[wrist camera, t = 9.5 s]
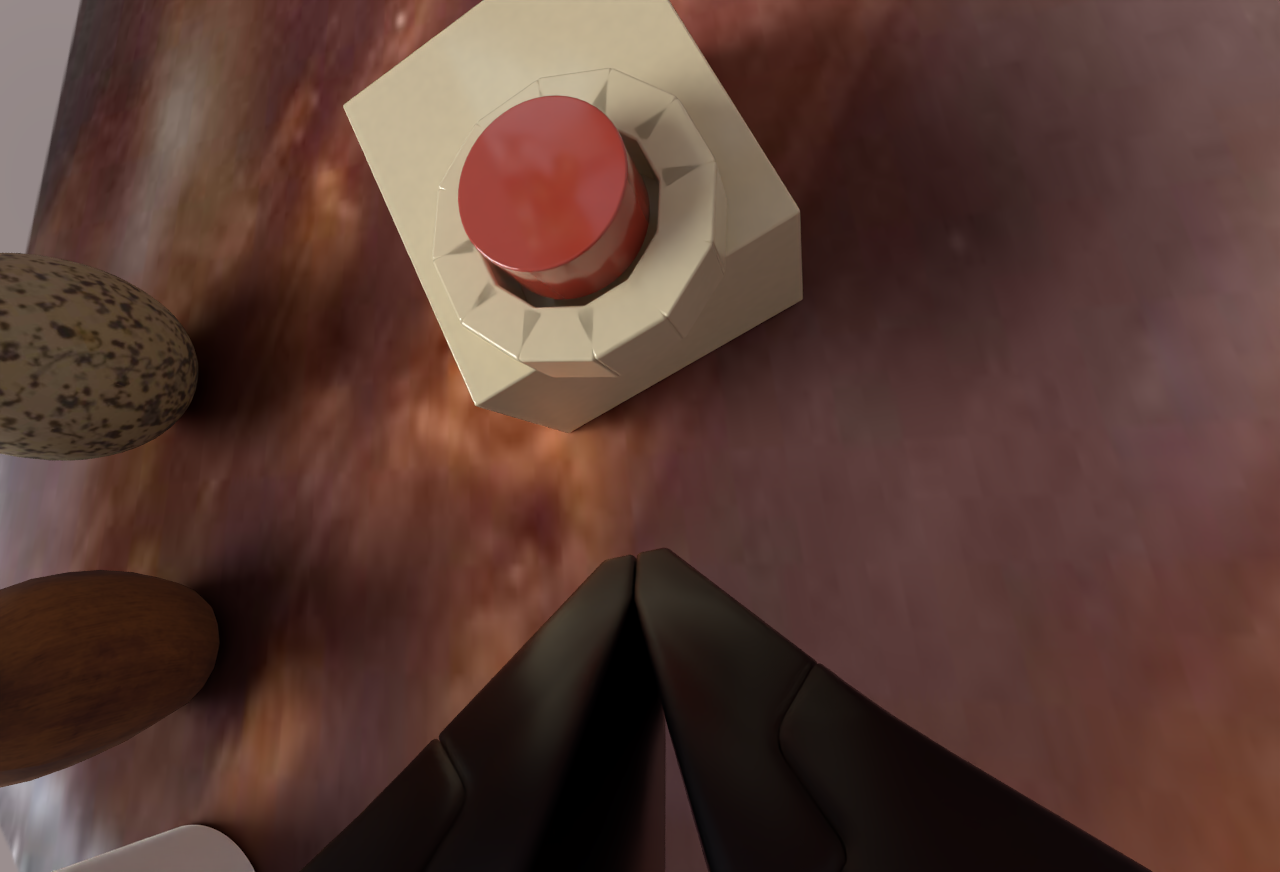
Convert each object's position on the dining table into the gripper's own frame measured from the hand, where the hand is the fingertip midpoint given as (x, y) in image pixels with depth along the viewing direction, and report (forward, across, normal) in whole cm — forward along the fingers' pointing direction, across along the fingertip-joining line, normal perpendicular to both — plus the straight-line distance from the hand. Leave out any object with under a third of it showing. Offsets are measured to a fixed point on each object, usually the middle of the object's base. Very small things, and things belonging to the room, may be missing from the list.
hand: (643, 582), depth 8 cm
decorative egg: (+20, -19, 0) cm, 27 cm away
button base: (+16, 0, +2) cm, 16 cm away
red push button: (+8, 0, +4) cm, 9 cm away
